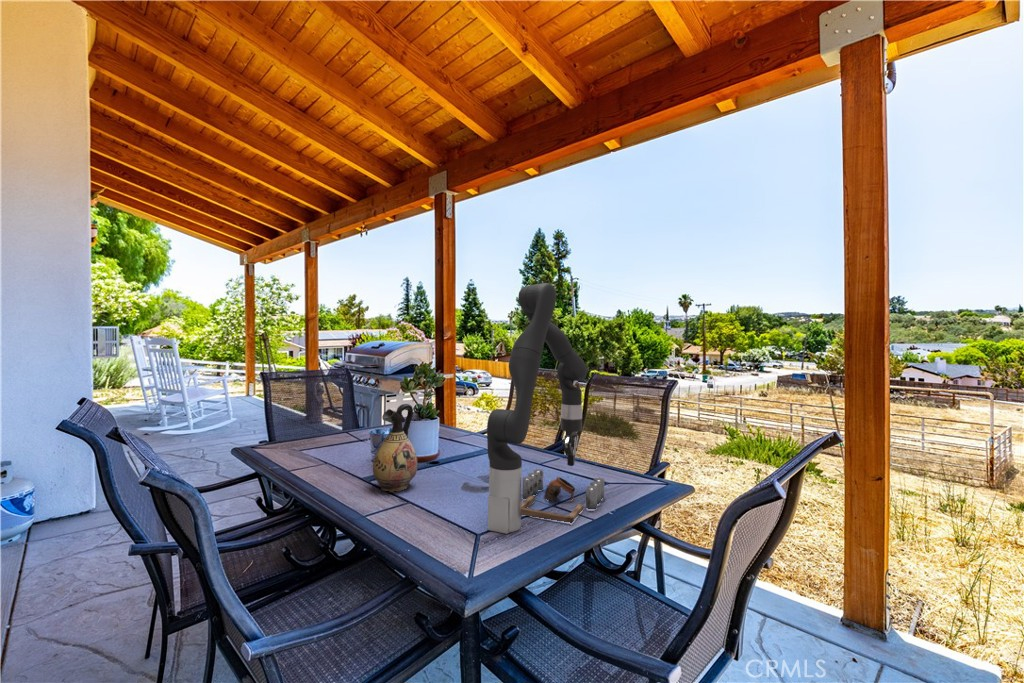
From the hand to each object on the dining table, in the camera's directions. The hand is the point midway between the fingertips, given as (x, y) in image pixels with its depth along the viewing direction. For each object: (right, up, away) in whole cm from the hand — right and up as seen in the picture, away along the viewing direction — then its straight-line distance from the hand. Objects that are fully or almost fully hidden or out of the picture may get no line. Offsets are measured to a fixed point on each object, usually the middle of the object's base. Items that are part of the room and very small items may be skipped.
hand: (570, 465), depth 158 cm
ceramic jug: (-62, -9, +1) cm, 63 cm away
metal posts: (-4, -9, -8) cm, 13 cm away
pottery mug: (-6, -10, -9) cm, 14 cm away
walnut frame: (-9, -9, -20) cm, 24 cm away
